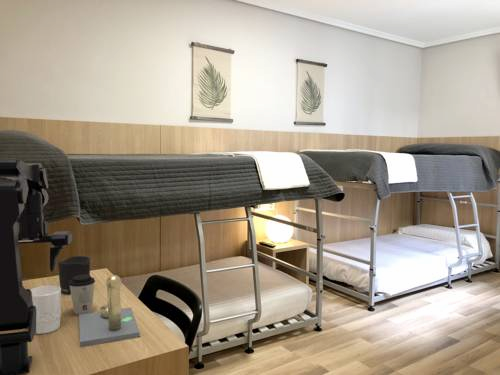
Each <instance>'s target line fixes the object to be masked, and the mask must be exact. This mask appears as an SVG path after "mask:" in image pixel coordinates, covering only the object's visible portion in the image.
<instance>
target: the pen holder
mask: <svg viewBox="0 0 500 375" xmlns="http://www.w3.org/2000/svg"><path fill="white" fill-rule="evenodd" d="M57 267H58V268H57V269H58V277H59V278H58V279H59V287H61V294H64V295H71V291H70V285H69V284H68V283H69V281H70V280H72V278H73V277H74V276H77V275H81V274H89V275H90V276H91V273H90V272H91V268H90V267H91V258H90V257H88V256H84V255H77V256H76V255H75V256H71V257H68V258H66V259H64V260H61V261H60V260H58V261H57Z"/></svg>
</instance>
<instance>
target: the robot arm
mask: <svg viewBox="0 0 500 375" xmlns="http://www.w3.org/2000/svg"><path fill="white" fill-rule="evenodd" d="M0 178H2V179H3V178H4V179H8V180H0V332H5V333H0V375H20V374H26V373H29V372H30V371H31V366H32V360H33V356H31V355H29V345H28V343H32V342H33V341H34V339H35V338H34V337H35V336H36V306H33V300H32V292H31V290H30V288H25V287H24V286H23V276H22V265H21V263H22V262H21V255H20V253H21V252H20V245H19V244H42V243H44V244H45V243H50V244H52V246H50V247H49V270H50V273H53V272H54V270H55V266H56V262H57V260H58V258H59V257H58V256H59V254H60V252H61V249H64V248H65V247H66V246H68V245H70V243H71V244H72V241H73V234H72V232H71V231H69V230H66V231H65V230H63V231H55V232H54V233H52V234H49V230H50V228H49V227H50V223H49V222H48V221H46V220H45V217H44V216H45V215H44V213H43V207H44V206H45V205H46V204H48V201H49V194H48V192H47V190H45V189H49V183H48V177H47V171H46V168H45V167H43V164H42V163H41V162H37V163H36V162H35V163H34V162H33V163H32V162H31V163H26V162H24V161H23V159H20V158H18V157H17V158H16V157H15V158H10V157H9V158H0ZM27 329H28V330H27ZM19 330H20V331H19ZM22 330H24V331H22ZM8 331H9V332H8ZM10 331H12V332H10ZM13 331H15V332H13Z"/></svg>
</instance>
